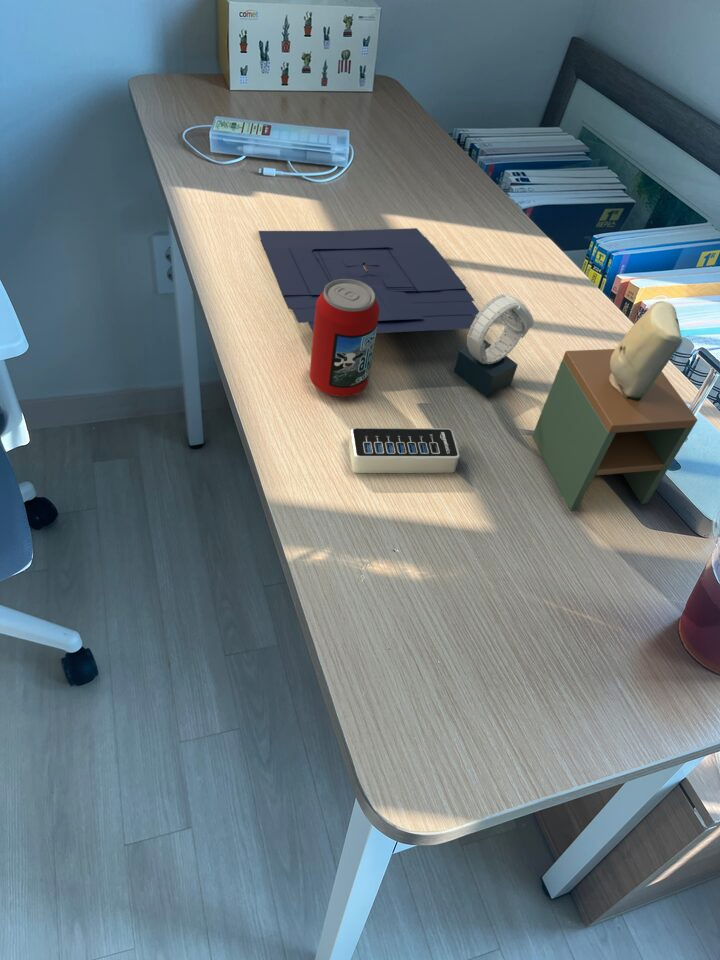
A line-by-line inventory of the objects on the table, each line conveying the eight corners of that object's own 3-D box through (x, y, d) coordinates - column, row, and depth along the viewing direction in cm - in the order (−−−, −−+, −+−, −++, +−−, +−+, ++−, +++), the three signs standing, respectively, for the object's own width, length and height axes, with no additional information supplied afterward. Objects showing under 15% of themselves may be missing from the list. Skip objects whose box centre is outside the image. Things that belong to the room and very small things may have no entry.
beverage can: (346, 410, 84) (359, 320, 75) (297, 384, 86) (304, 294, 77) (378, 380, 88) (393, 292, 79) (330, 356, 90) (340, 267, 81)
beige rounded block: (670, 398, 73) (708, 329, 67) (629, 409, 71) (664, 340, 65) (631, 362, 76) (664, 294, 70) (591, 372, 74) (622, 303, 68)
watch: (521, 379, 92) (549, 302, 84) (476, 402, 87) (500, 324, 79) (488, 354, 94) (511, 277, 86) (442, 376, 90) (463, 297, 82)
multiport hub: (348, 442, 80) (350, 427, 79) (447, 443, 82) (452, 427, 81) (352, 473, 77) (355, 457, 76) (455, 473, 79) (460, 457, 78)
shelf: (647, 503, 80) (698, 419, 71) (570, 510, 78) (612, 425, 69) (603, 431, 87) (644, 347, 78) (531, 436, 85) (565, 350, 76)
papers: (297, 359, 87) (298, 330, 84) (256, 249, 108) (256, 224, 106) (492, 347, 93) (498, 320, 90) (416, 245, 114) (419, 222, 112)
